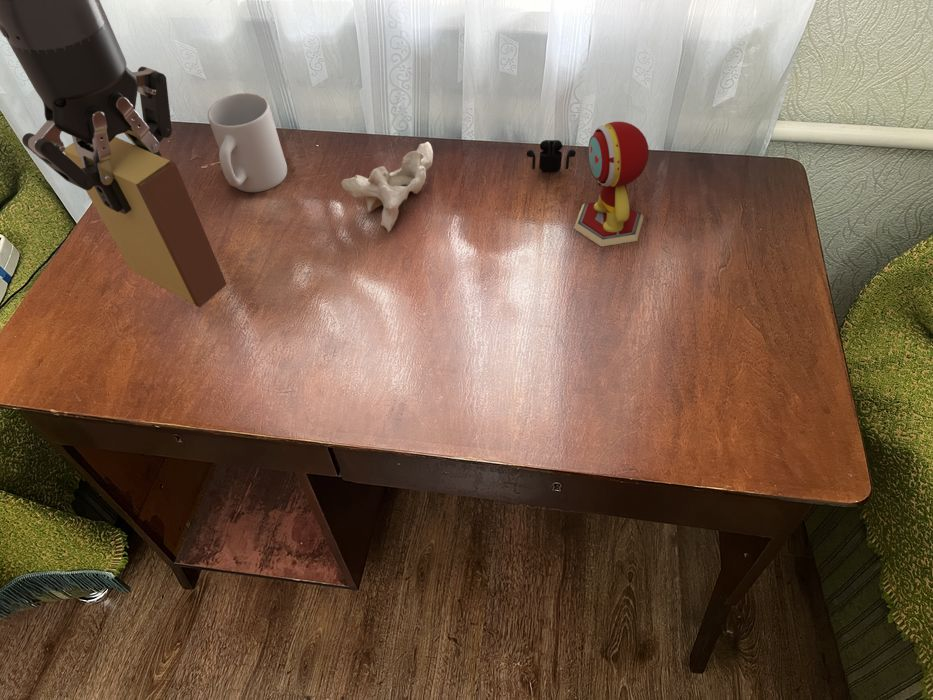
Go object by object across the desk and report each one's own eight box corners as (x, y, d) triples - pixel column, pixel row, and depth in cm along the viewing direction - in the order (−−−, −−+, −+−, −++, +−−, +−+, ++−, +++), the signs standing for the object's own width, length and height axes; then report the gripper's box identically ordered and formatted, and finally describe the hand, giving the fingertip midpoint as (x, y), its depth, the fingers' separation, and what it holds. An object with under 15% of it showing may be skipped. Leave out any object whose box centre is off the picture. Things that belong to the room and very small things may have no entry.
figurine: (564, 208, 97) (574, 112, 85) (632, 197, 98) (651, 101, 86) (583, 249, 92) (596, 153, 80) (654, 238, 92) (677, 141, 81)
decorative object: (353, 219, 99) (334, 171, 93) (418, 166, 105) (404, 118, 99) (396, 236, 94) (378, 187, 88) (462, 180, 100) (449, 130, 94)
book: (61, 149, 66) (140, 186, 62) (96, 127, 68) (175, 162, 64) (130, 270, 78) (199, 308, 74) (158, 248, 80) (227, 284, 76)
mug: (243, 155, 107) (221, 90, 99) (295, 160, 106) (278, 94, 97) (212, 205, 100) (185, 139, 91) (267, 211, 99) (246, 145, 90)
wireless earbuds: (526, 173, 102) (527, 144, 98) (525, 163, 104) (527, 133, 100) (573, 173, 102) (577, 143, 98) (573, 163, 103) (576, 133, 99)
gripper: (4, 76, 50) (108, 253, 63) (157, -4, 57) (221, 169, 70) (-56, 50, 52) (56, 225, 66) (97, -24, 60) (170, 147, 73)
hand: (141, 195), depth 68 cm, fingers closed on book, 4 cm apart
